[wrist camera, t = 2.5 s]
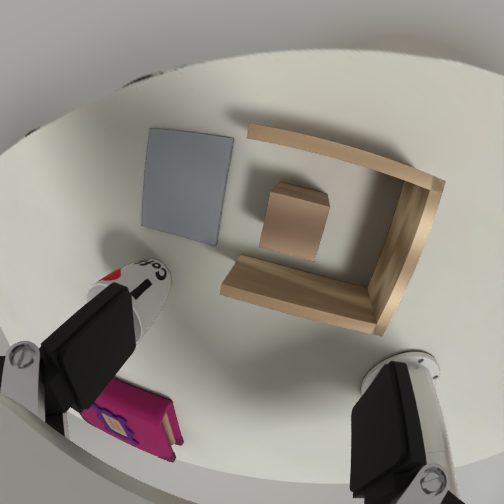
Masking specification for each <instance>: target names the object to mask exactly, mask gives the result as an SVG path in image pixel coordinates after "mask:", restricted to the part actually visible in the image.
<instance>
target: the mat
mask: <svg viewBox="0 0 504 504" xmlns="http://www.w3.org/2000/svg"><path fill="white" fill-rule="evenodd" d="M233 143H234V138H228V137H221V136H215V135H208V134H200V133H193V132H184V131H175V130H165V129H154V128H150V131H149V138H148V146H147V155H146V165H145V175H144V187H143V202H142V223H141V226H144V227H148V228H152V229H155V230H159V231H163V232H166V233H170V234H174V235H177V236H181V237H185V238H188V239H192V240H196V241H199V242H203V243H207V244H211V245H214V246H215V245H216V244H217V240H218V234H219V227H220V220H221V214H222V208H223V201H224V195H225V189H226V183H227V177H228V171H229V165H230V160H231V154H232V148H233Z"/></svg>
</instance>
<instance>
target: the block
mask: <svg viewBox="0 0 504 504" xmlns="http://www.w3.org/2000/svg"><path fill="white" fill-rule="evenodd" d="M329 209H330V204H329V199H328V194H325V193H322V192H318V191H314V190H310V189H306V188H302V187H299V186H295V185H290V184H286V183H282V182H279V183H278V184H277V185H276V186H275V188H274V189H273V190H272V191H271V192H270V196H269V201H268V206H267V211H266V215H265V220H264V225H263V230H262V234H261V239H260V244H259V247H261V248H265V249H268V250H272V251H276V252H280V253H283V254H287V255H291V256H295V257H298V258H302V259H306V260H310V261H313V262H314V261H315V258H316V254H317V251H318V248H319V244H320V241H321V237H322V234H323V231H324V227H325V224H326V220H327V216H328V213H329Z"/></svg>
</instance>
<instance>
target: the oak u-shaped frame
mask: <svg viewBox="0 0 504 504" xmlns="http://www.w3.org/2000/svg"><path fill="white" fill-rule="evenodd" d="M247 138H248V139H254V140H259V141H264V142H269V143H274V144H279V145H284V146H288V147H292V148H297V149H301V150H305V151H309V152H313V153H317V154H321V155H325V156H329V157H332V158H336V159H340V160H343V161H347V162H350V163H353V164H357V165H360V166H363V167H366V168H370V169H373V170H376V171H379V172H382V173H385V174H388V175H391V176H394V177H396V178H399V179H402V180H404V184H403V187H402V191H401V194H400V198H399V201H398V204H397V208H396V211H395V214H394V217H393V220H392V223H391V226H390V229H389V232H388V235H387V238H386V241H385V244H384V246H383V249H382V252H381V255H380V257H379V260H378V262H377V265H376V268H375V270H374V273H373V275H372V278H371V280H370V283H369V285H368V287H367V288H365V287H361V286H357V285H354V284H350V283H346V282H342V281H338V280H335V279H331V278H327V277H323V276H320V275H316V274H312V273H308V272H304V271H301V270H297V269H293V268H289V267H286V266H282V265H278V264H275V263H271V262H267V261H263V260H260V259H256V258H252V257H248V256H245V255H241V256H240V257H239V259H238V260H237V262H236V263H235V265H234V266H233V268H232V269H231V271H230V272H229V274H228V275H227V277H226V278H225V280H224V281H223V283H222V285H221V292H220V295H224V296H227V297H230V298H234V299H237V300H241V301H244V302H248V303H251V304H255V305H258V306H262V307H265V308H269V309H273V310H276V311H280V312H284V313H287V314H291V315H295V316H299V317H303V318H307V319H311V320H315V321H318V322H323V323H327V324H331V325H335V326H339V327H343V328H347V329H352V330H356V331H361V332H365V333H369V334H374V335H379V336H383V334H384V332H385V330H386V328H387V326H388V325H389V323H390V321H391V319H392V317H393V315H394V313H395V311H396V309H397V307H398V305H399V303H400V301H401V299H402V297H403V295H404V293H405V290H406V288H407V286H408V284H409V282H410V279H411V277H412V275H413V273H414V270H415V268H416V266H417V263H418V261H419V258H420V256H421V253H422V251H423V248H424V246H425V243H426V240H427V238H428V235H429V232H430V229H431V226H432V224H433V221H434V218H435V215H436V212H437V208H438V205H439V202H440V199H441V195H442V192H443V189H444V185H445V181H444V180H442V179H440V178H437V177H435V176H433V175H430V174H428V173H425V172H423V171H420V170H418V169H415V168H413V167H410V166H407V165H405V164H402V163H399V162H396V161H394V160H391V159H388V158H385V157H382V156H379V155H376V154H373V153H370V152H367V151H364V150H360V149H357V148H354V147H350V146H347V145H343V144H340V143H336V142H333V141H329V140H325V139H321V138H317V137H313V136H309V135H305V134H301V133H296V132H292V131H287V130H282V129H277V128H272V127H267V126H262V125H256V124H249V129H248V134H247Z"/></svg>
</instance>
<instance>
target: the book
mask: <svg viewBox="0 0 504 504" xmlns="http://www.w3.org/2000/svg"><path fill="white" fill-rule="evenodd" d="M80 415H81V416H82V418H83V419H84V420H85V421H86V422H87V423H89V424H91V425H93V426H95V427H97V428H99V429H101V430H103V431H104V432H106V433H108V434H110V435H112V436H114V437H116V438H118V439H120V440H122V441H124V442H126V443H128V444H130V445H132V446H134V447H137V448H139V449H141V450H143V451H146V452H148V453H150V454H153V455H155V456H158V457H159V458H161V459H164V460H167V461H169V462H174V461H175V459H176V456H175V453H174V452H173V450H172V447H171V445H173V444H176V445H180V446H181V445H183V442H184V441H183V437H182V436H181V432H180V429H179V425H178V421H177V417H176V414H175V410H174V406H173V402H172V401H171V400H168V399H165V398H163V397H160V396H157V395H154V394H152V393H149V392H146V391H144V390H141V389H139V388H136V387H134V386H131V385H129V384H127V383H124V382H122V381H120V380H117V379H115V378H112V380H111V381H110V382H109V384H108V385H107V386H106V387H105V389H104V390H103V391H102V393H101V394H100V395H99V396H98V398H97V399H96V400H95V402H94V403H93V404H92V406H91V407H90V408H89V409H87V410H85V409H84V411H83V412H82V413H81V414H80Z"/></svg>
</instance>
